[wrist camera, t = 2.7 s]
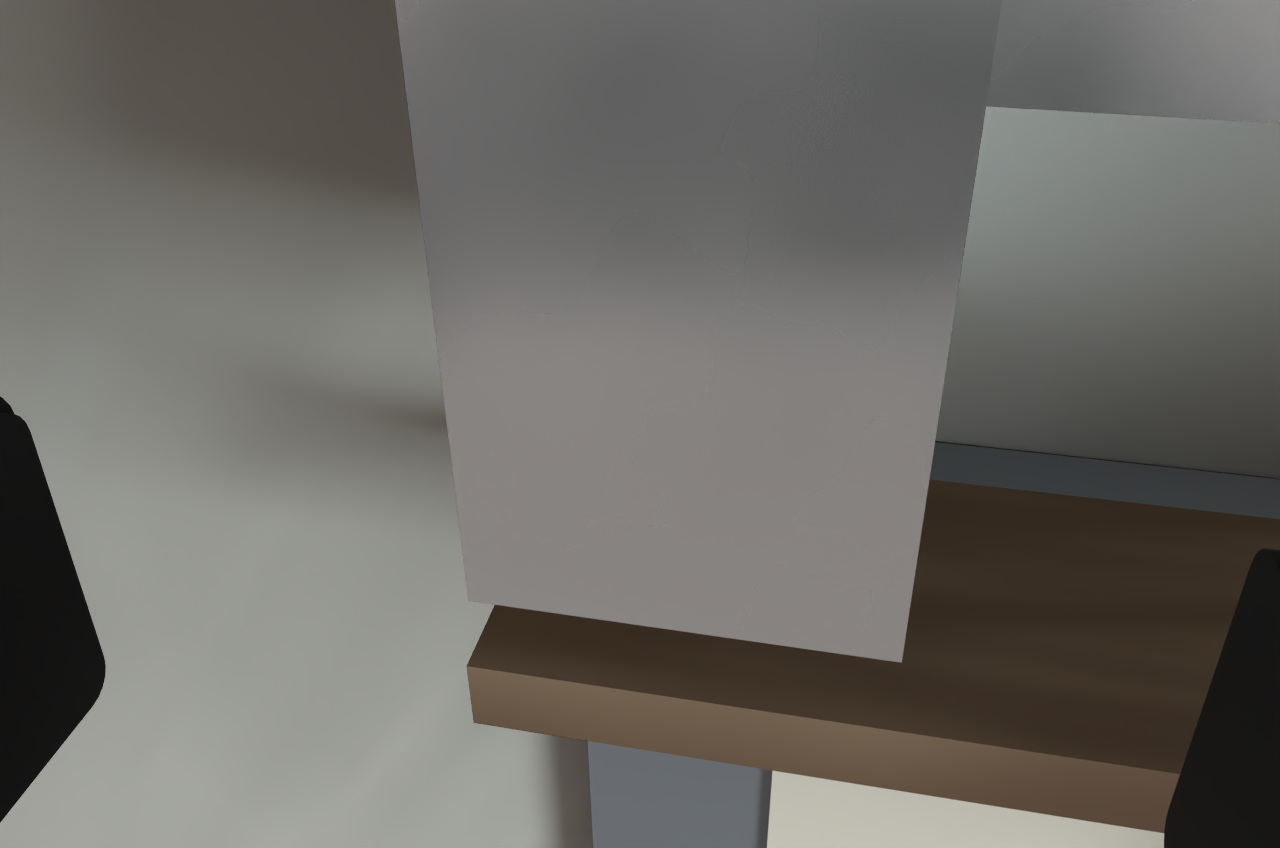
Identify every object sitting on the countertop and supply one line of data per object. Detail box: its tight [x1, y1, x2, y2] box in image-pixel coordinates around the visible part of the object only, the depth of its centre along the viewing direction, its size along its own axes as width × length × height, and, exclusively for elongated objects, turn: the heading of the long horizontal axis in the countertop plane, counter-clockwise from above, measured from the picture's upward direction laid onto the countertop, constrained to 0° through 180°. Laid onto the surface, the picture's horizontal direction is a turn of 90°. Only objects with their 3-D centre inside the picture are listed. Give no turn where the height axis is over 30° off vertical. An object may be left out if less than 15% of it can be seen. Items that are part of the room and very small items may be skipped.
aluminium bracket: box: [395, 0, 1280, 663], centre depth 11 cm, size 9×8×8 cm
